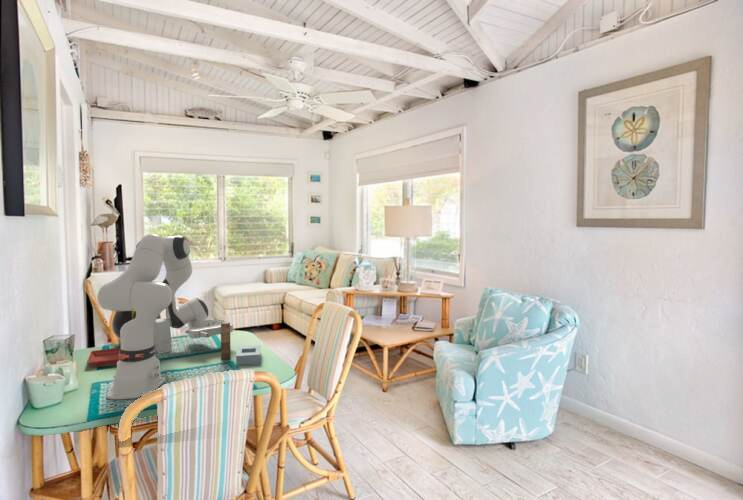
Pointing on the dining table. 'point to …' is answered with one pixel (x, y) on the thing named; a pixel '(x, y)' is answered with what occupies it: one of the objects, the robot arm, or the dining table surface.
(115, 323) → the amphora vase
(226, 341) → the walnut dowel
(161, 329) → the skincare box
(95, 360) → the plant saucer
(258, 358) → the socket block
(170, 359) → the dining table surface
